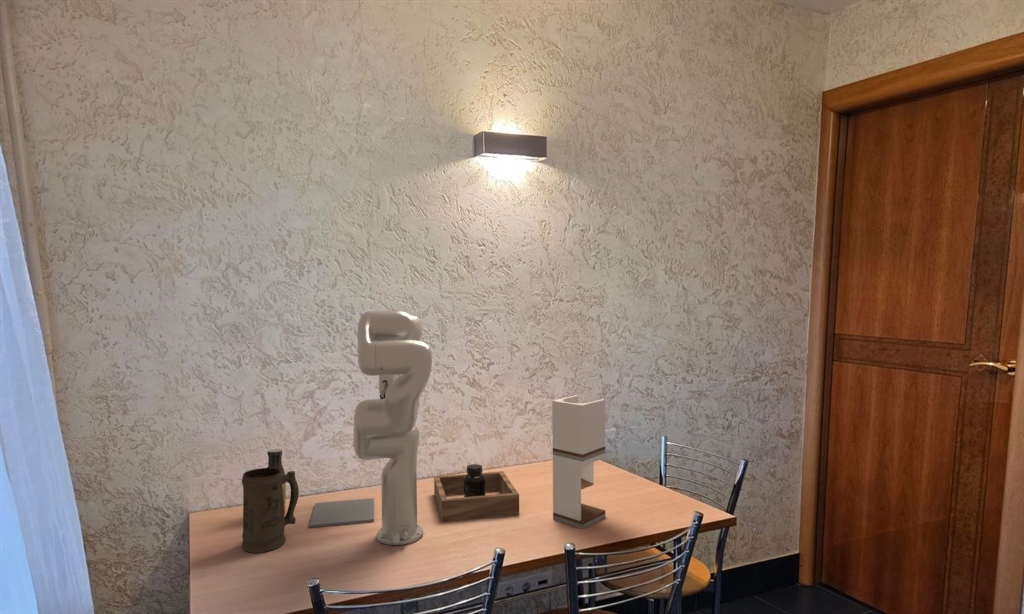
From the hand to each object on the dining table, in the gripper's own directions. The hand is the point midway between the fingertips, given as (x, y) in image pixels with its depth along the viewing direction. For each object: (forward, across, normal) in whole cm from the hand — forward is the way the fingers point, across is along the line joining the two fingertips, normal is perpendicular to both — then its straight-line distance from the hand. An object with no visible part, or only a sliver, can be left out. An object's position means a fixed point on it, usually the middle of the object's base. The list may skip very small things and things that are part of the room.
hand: (390, 411), depth 190 cm
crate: (+30, +2, -26) cm, 39 cm away
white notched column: (+30, -7, -59) cm, 67 cm away
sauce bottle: (+30, -13, +32) cm, 46 cm away
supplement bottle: (+30, +2, -26) cm, 40 cm away
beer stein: (+30, -30, +24) cm, 49 cm away
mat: (+29, -9, +12) cm, 33 cm away
